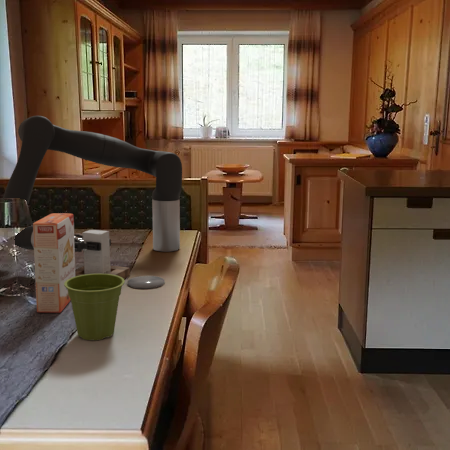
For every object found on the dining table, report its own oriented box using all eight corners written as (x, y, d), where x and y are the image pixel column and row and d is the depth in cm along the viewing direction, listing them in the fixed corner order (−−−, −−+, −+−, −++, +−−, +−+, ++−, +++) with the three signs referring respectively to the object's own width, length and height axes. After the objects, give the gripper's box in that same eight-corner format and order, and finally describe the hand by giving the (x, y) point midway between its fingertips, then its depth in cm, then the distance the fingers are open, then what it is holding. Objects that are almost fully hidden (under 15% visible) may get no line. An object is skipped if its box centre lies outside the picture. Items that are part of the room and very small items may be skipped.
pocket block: (90, 271, 153) (90, 263, 153) (129, 275, 149) (129, 267, 148) (62, 283, 141) (62, 275, 141) (105, 289, 137) (104, 280, 136)
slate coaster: (138, 276, 149) (138, 274, 148) (170, 280, 145) (170, 277, 145) (120, 286, 139) (120, 284, 139) (154, 290, 136) (154, 288, 136)
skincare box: (111, 273, 146) (109, 230, 143) (103, 277, 142) (101, 234, 139) (92, 270, 148) (90, 229, 145) (83, 275, 144) (81, 232, 141)
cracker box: (62, 313, 119) (58, 222, 115) (35, 313, 119) (30, 222, 115) (78, 294, 133) (74, 212, 129) (54, 294, 133) (49, 212, 129)
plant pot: (70, 350, 100) (68, 293, 98) (63, 328, 111) (60, 276, 108) (132, 340, 105) (130, 286, 102) (119, 320, 115) (117, 270, 113)
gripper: (34, 231, 140) (90, 236, 135) (67, 221, 154) (118, 226, 148) (36, 258, 142) (91, 264, 136) (68, 246, 155) (119, 252, 150)
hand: (105, 244), depth 142 cm, fingers closed on skincare box, 4 cm apart
